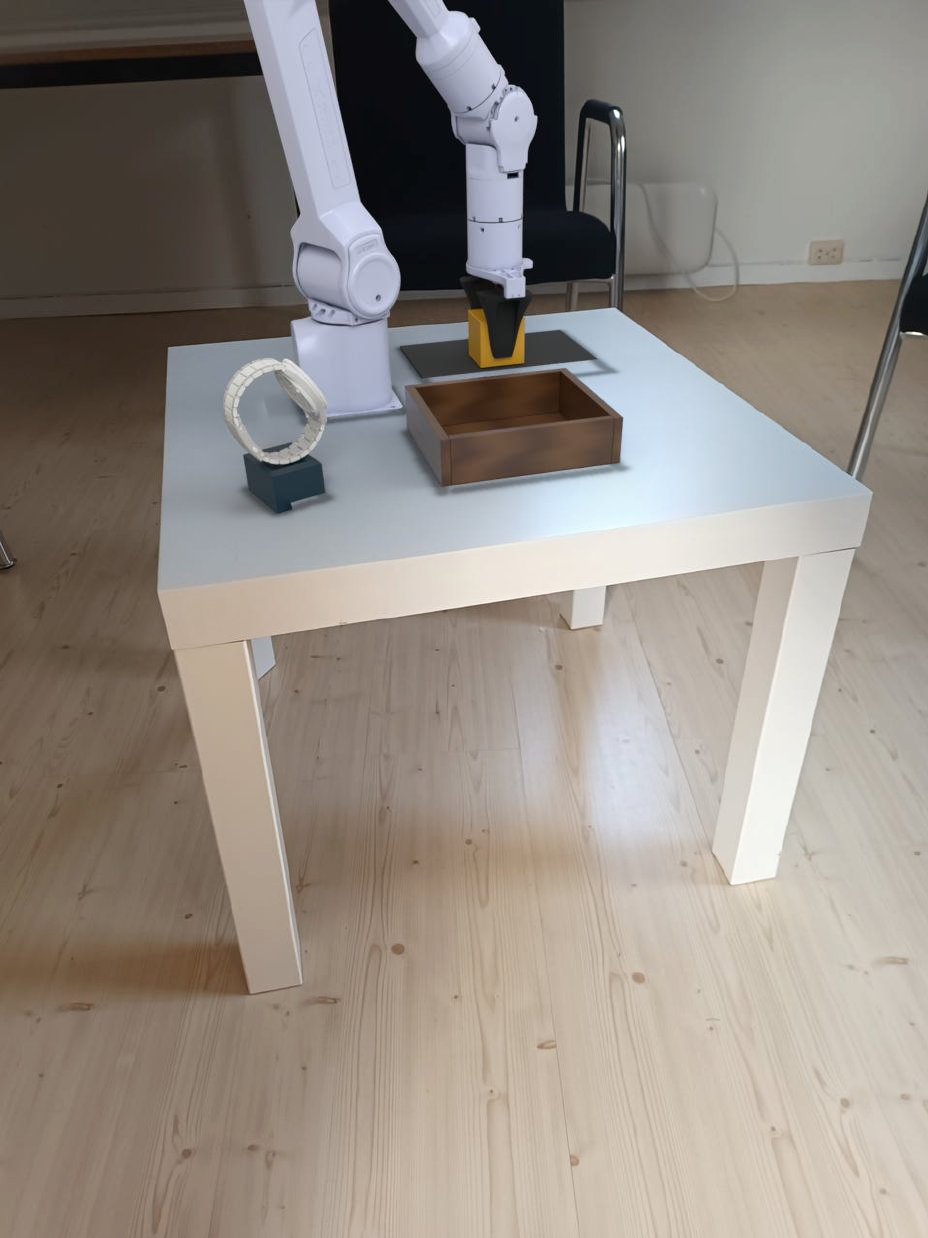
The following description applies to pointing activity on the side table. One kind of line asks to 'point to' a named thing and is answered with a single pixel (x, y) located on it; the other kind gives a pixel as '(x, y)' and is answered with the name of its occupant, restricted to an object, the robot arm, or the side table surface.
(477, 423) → the box
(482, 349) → the cube
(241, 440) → the watch
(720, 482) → the side table surface
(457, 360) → the mat
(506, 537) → the side table surface
